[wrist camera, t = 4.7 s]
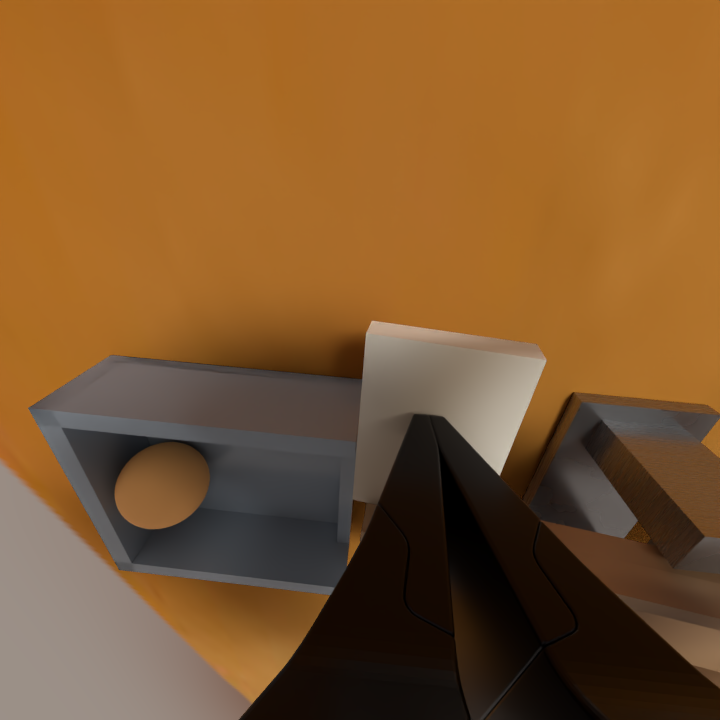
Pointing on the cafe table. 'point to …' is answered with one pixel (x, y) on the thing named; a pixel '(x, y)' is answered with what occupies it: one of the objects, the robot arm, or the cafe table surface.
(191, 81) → the cafe table surface
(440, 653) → the robot arm
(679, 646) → the lever
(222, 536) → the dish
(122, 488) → the ball
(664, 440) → the stand
